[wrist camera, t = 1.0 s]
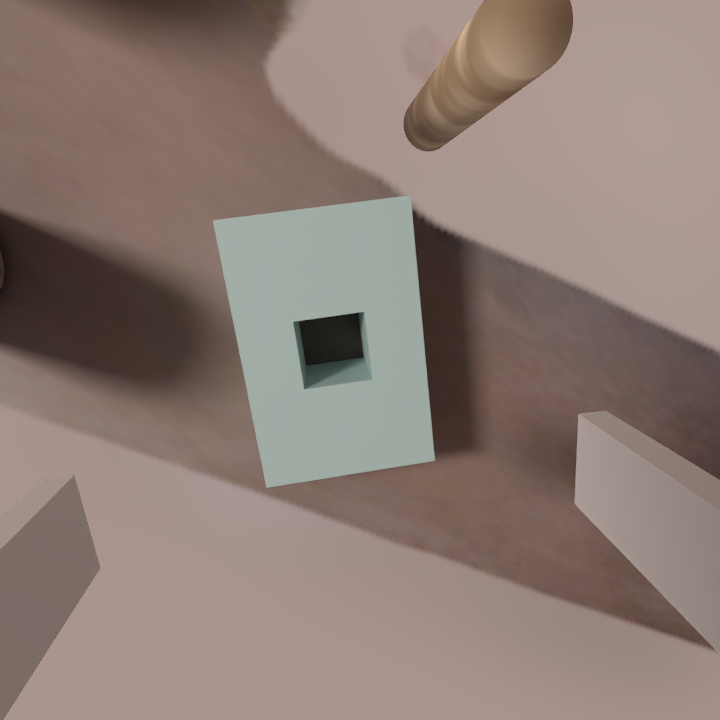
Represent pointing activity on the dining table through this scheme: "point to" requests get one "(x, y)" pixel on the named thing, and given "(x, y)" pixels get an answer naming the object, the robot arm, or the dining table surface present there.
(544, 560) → the dining table surface
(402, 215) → the socket block
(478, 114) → the peg
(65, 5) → the dining table surface
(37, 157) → the dining table surface
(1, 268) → the canister
